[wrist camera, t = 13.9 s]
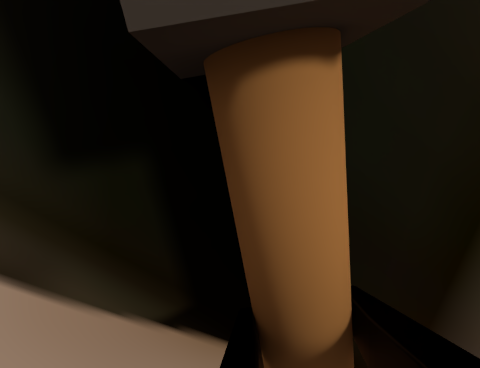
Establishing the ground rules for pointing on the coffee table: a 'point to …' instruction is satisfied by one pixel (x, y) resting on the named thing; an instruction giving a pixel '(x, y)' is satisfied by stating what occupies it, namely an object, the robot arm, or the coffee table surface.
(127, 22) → the plug
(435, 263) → the coffee table surface
